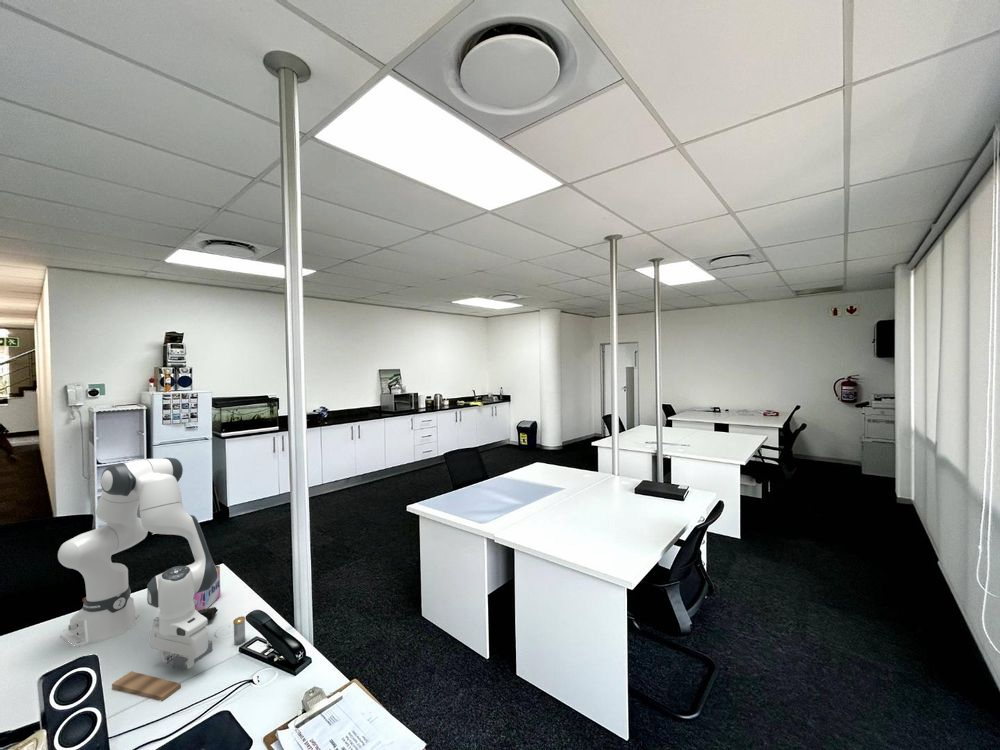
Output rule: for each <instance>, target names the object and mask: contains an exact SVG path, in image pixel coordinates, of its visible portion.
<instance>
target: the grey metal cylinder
mask: <svg viewBox="0 0 1000 750" xmlns="http://www.w3.org/2000/svg"><path fill="white" fill-rule="evenodd" d="M233 643H234V646H240V645H242V644H244V643H246V617H245V616H238V617H236V618H235V619H233Z"/></svg>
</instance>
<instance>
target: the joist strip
mask: <svg viewBox="0 0 1000 750" xmlns="http://www.w3.org/2000/svg"><path fill="white" fill-rule="evenodd" d="M181 687H182V685H181V683H180V682H175V681H172V680H167V679H164V678H160V677H156V676H153V675H147V674H144V673H139V672H136V671H133V670H132V671H129V672H127V673H126V674H124V675H123V676H122V677H120V678H119V679H117V680H116V681H114V682H113V683H111V689H112V691H118V692H123V693H127V694H131V695H135V696H138V697H139V696H140V697H143V698H146V699H147V698H148V699H152V700H156V701H159V700H161V701H160V702H164V701H165V700H166V699H168V698H169V697H171V696H172V695H173V694H174V693H176V692H177V691H178V690H180V689H181ZM163 700H164V701H163Z"/></svg>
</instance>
